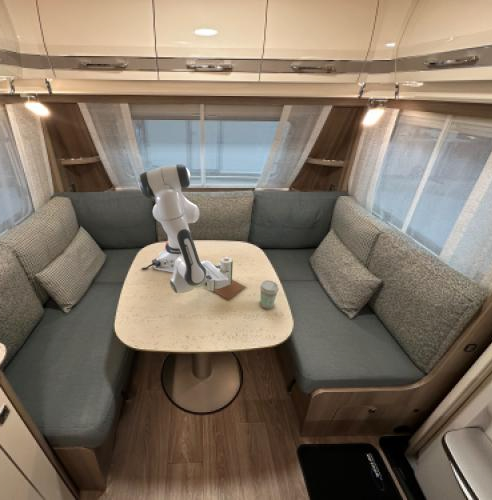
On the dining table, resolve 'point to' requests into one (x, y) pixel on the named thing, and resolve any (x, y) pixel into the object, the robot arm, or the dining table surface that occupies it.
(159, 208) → the robot arm
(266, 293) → the coffee cup
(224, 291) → the cork mat
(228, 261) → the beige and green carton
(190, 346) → the dining table surface
